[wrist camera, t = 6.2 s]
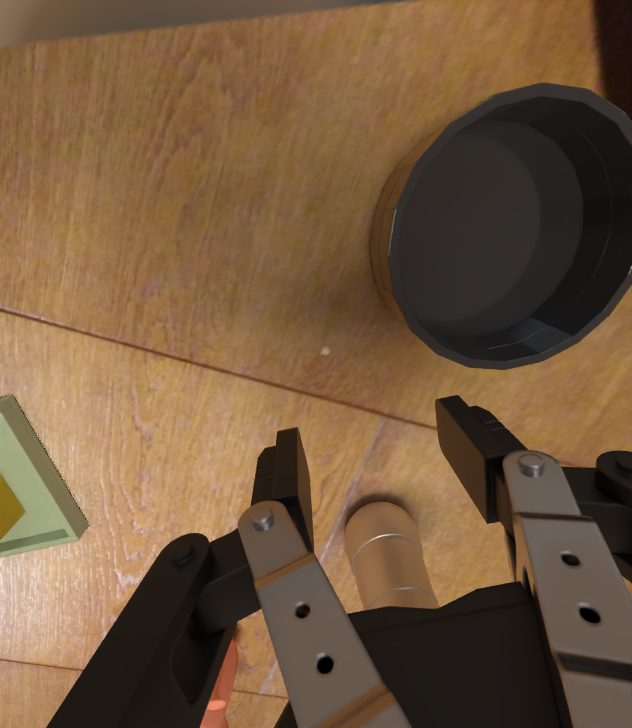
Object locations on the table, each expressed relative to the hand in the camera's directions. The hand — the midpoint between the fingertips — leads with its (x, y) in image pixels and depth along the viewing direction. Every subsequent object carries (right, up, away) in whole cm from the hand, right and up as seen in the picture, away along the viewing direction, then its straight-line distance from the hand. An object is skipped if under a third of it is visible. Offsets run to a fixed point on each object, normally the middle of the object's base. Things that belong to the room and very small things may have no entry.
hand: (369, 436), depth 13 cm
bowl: (+9, +11, +13) cm, 20 cm away
